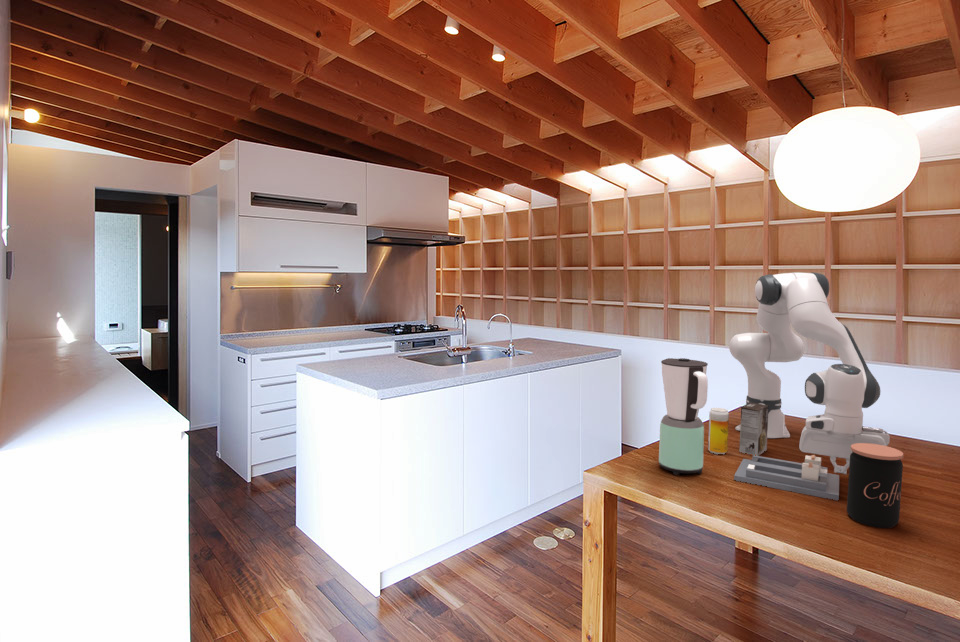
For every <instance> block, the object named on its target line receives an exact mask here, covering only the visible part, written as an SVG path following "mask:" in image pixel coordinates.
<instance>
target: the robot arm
mask: <svg viewBox="0 0 960 642" xmlns="http://www.w3.org/2000/svg"><path fill="white" fill-rule="evenodd" d="M756 280H757V281H756V282H755V288H754V293H755V298H756V300H757V301H758V309H757V312H756V316H755V317H756V318H755V321H756V324H757V325H758V327H760V328H761V330H763V331H765V332H766V333H765V332H745V333H738V334H735V335H734V336H732V338H731V339H730V342H729V345H728V346H729V352H730V354H731V356H732V357H733V358H734V359H735V360H737V361H738V363H740V364H741V365H742V367H743V368H744V369H745V372H746V375H747V376H746V377H747V395H746V397H745V398H746V399H745V401H746V402H745V405H746V404H748V403H757V404H762V405H767V406H768V430H767V439H779V438H791V434H790V432H789V430H788V428H787V426H786V422H785V421H786V419H785V417H786V415H785V413H783V412H782V410H781V409H782V404H783V403H782V398H781V388H782V380H781V377H780V376H779V375H778V374H776V373H775V372H773V371H771V370H769V369H767V368H766V366H765V365H766V364H765V363H791V362H796V361H799V360H800V359H802V357H804V356H803V355H805V354H804V353H805V350H806V349H805V343H804V341H803V339H802V338H801V337H804V338H807V339H809V340H813V341H816V342H819V343H822V344H824V345H826V346H829V347H831V348H832V349H833V350H835V351H836V352H837V354H838V356H839V359H840V360H841V361H840V362H841V363H836V364H835V363H834V364H831V365H830V366H829V367H828V369H826V370H822V371H817V372H813V373H811V374H810V375H809V376H808V377H807V378H806V380H805V382H804V395H805V396H806V398H807V399H808V400H809V401H810V402H812V403H813V404H814V405H815V404H816V405H820V406H825V409H824V414H817V415H810V416H808V417H806V419H805V426H804V427H803V428H802V431H801V435H800V438H799V445H798V446H799V447H798V449H799V450H800V451H801V452H802V453H805V454H812V455H820V456H827V457H829V460H830V463H831V464H832V466H833V473H834V474H836V473H837V474H842V475H847V473H848V472H847V471H848V470H849V465H850V454H851V453H852V450H851V445H852V444H856V443H870V444H878V445H883V446H888V445H889V444H890V441H891V440H890V437H891V436H890V434H889V433H888V432H887V431H886V430H884V429H883V428H878V427H877V428H876V427H870V426H863V423H864V412H863V409H869V408H870V407H872V406H873V405H874V404H875V403H876V402H877V401H878V400H879V399H880V396H881V386H880V384H879V382H878V380H877V379H876V377H875V376H874V374H873V373H872V372H871V370H870V368H869V367H868V364H867V363H866V361H865V359H864V357H863V355H862V353H861V351H860V349H859V346H858V344H857V342H856V341H855V339H854V337H853V335H852V332H851V331H850V330H849V328H848V326H846V325H845V324H843V323H841V322H840V321H839V320H838V319H837V318H836V317H835V315H834V313H832V311H831V308H830V306H829V303H828V300H827V299H828V296H829V294H830V281H829V280H828V278H827V276H826V275H825V274H823V273H820V272H814V271H813V272H784V273H776V274H771V273H770V274H765V275H762V276H759V278H758V279H756ZM792 328H793V329H792ZM793 330H794V331H795V332H794V331H793ZM796 333H797V334H796ZM799 335H801V337H800V336H799ZM740 425H741V423H739V425H737V426H735V430H736V431H739V432H740ZM837 458H839V459H845V462H846V464H844V465H839V464H837V462H836V461H837Z"/></svg>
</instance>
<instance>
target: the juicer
mask: <svg viewBox="0 0 960 642" xmlns="http://www.w3.org/2000/svg"><path fill="white" fill-rule="evenodd" d="M660 363H661V375H662V382H663V391H664V398H665V400H664V401H665V408H666V414H665V415H664V416H663V417H662V419H661V420H660V424H659V440H658V441H659V442H658V443H659V447H658V448H659V449H658V463H659V467H661V468H663V469H664V470H667V471H669V472H672V475H673V474H674V475H673V476H675V475H679V476H681V474H697V475H698V474H699V475H701V473H702V474H703V468H704V448H705V447H704V445H705V443H704V442H705V424H704V422H703V421H702V420H701V419H700V417H698V416H699V412H700V409H703V408H704V407H705V405H706V404H707V401H708V390H709V389H708V386H709V384H708V376H707V366H708V362H705V361H702V360H697V359H696V360H695V359H690V358H686V357H685V358H681V357H680V358H670V357H669V358H666V359H662V360H661V361H660Z"/></svg>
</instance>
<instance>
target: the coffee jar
mask: <svg viewBox="0 0 960 642" xmlns="http://www.w3.org/2000/svg"><path fill="white" fill-rule="evenodd" d="M851 450H852V453H851V454H850V465H849V467H848V481H847V482H848V485H847V497H846V498H847V499H846V500H847V503H846V512H847V514H848V515H849V517H850V518H851V519H852V520H853V521H854V522H855V521H856V522H857V523H859V524H861V525H865V526H869V527H873V528H878V529H891V528H894V527H895V526H896V525H898V523H900V513H901V510H900V509H901V498H902V496H901V495H902V487H903V486H902V482H903V472H904V471H903V469H904V465H903V462H902V459H904V453H903V452H902V451H901V449H900V450H899V449H897V448H894V447H891V446H888V445H887V446H883V445H878V444H870V443H856V444H852V445H851Z"/></svg>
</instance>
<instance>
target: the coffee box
mask: <svg viewBox="0 0 960 642" xmlns="http://www.w3.org/2000/svg"><path fill="white" fill-rule="evenodd" d="M740 424H741V425H740ZM740 424H739V425H740V431H739V453H741V452H742V453H741V454H745V453H747V454H746V455H750V454H752V455H751V456H753V455H756V456H761V455H762V454H763V453H765V452H766V451H767V450H768V438H767V430H768V406H767V405H762V404H757V403H748V404H746V403H745V404H744V405H742V406H741V407H740ZM764 451H765V452H764Z"/></svg>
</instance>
